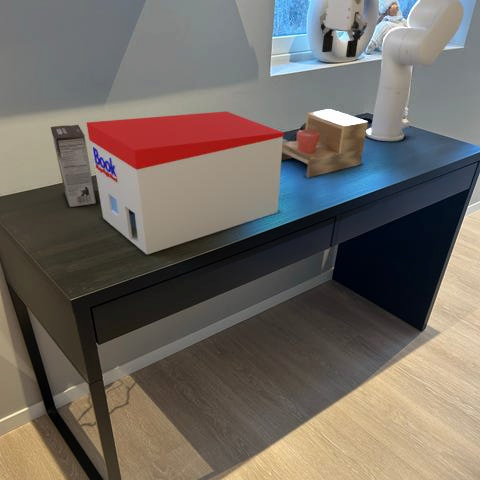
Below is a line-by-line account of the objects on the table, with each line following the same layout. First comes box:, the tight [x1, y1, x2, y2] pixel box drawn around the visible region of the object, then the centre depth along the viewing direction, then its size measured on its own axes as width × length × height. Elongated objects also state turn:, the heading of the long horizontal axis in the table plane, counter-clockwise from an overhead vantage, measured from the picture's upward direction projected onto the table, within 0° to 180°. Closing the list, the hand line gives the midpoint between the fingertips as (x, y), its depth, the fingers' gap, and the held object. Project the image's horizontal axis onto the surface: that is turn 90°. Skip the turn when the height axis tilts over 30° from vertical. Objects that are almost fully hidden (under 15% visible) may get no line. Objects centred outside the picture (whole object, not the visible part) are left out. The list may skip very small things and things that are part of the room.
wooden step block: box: [281, 108, 369, 178], centre depth 138 cm, size 20×16×12 cm
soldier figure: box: [276, 128, 294, 144], centre depth 150 cm, size 8×5×12 cm
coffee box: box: [50, 124, 97, 208], centre depth 113 cm, size 9×6×16 cm
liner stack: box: [295, 129, 319, 153], centre depth 135 cm, size 6×6×5 cm
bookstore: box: [86, 111, 284, 255], centre depth 105 cm, size 21×35×21 cm, turn 127°
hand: (338, 54), depth 136 cm, fingers open, 9 cm apart
